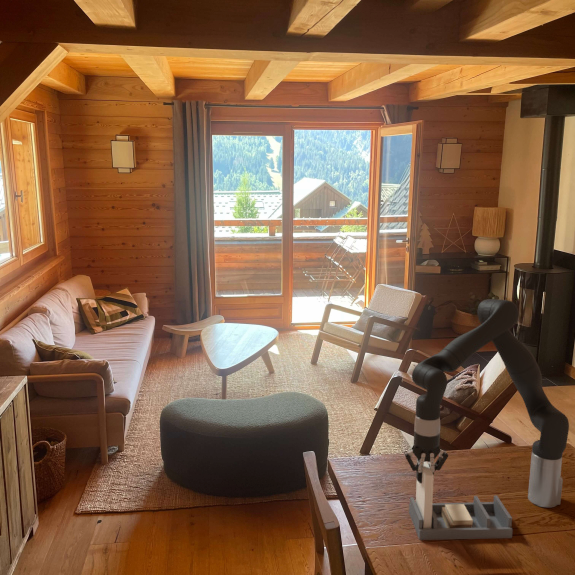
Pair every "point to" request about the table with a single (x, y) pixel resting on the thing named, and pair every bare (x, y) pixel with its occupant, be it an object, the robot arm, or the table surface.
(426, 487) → the white rectangular board
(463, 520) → the offcuts
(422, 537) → the rack
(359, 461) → the table surface
